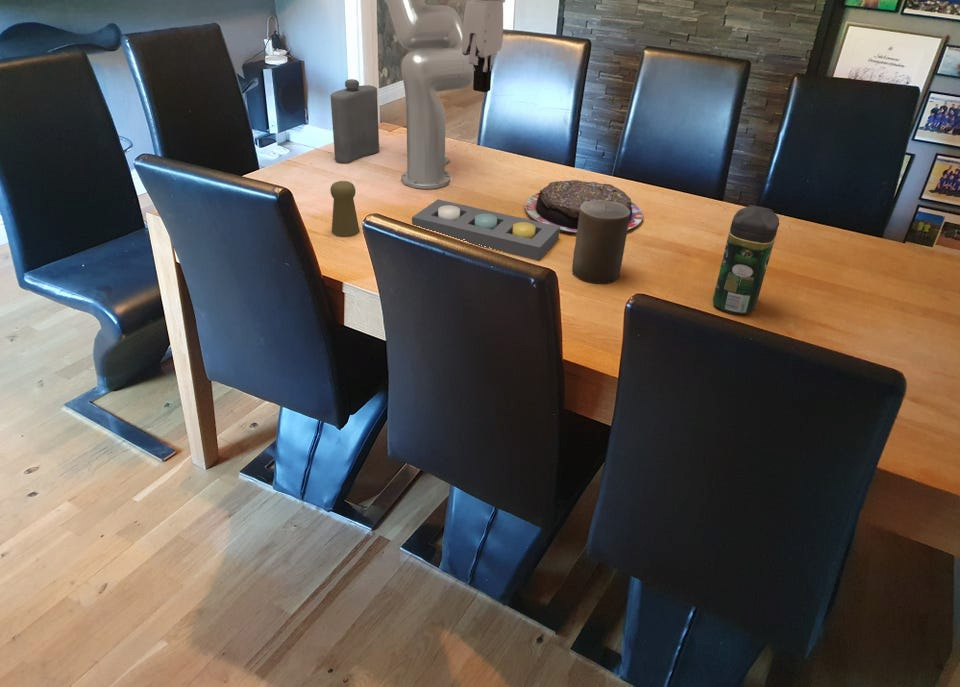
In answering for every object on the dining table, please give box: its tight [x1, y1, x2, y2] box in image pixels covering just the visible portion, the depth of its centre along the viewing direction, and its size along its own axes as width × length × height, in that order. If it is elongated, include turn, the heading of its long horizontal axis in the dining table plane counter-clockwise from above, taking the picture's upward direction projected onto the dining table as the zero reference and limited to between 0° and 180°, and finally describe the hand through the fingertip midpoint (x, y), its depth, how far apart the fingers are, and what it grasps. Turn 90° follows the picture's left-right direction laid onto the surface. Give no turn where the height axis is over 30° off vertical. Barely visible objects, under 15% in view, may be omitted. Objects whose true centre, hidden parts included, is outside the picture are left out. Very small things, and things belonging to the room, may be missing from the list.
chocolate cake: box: [524, 179, 644, 236], centre depth 168 cm, size 28×28×7 cm
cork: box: [329, 180, 361, 238], centre depth 152 cm, size 6×6×11 cm
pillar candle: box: [571, 200, 630, 284], centre depth 140 cm, size 10×10×15 cm
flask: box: [330, 78, 380, 165], centre depth 191 cm, size 15×6×20 cm, turn 144°
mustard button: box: [512, 222, 536, 239], centre depth 152 cm, size 5×5×3 cm
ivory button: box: [438, 205, 460, 221], centre depth 158 cm, size 5×5×3 cm
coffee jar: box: [712, 204, 781, 315], centre depth 130 cm, size 10×8×19 cm
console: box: [411, 198, 561, 261], centre depth 156 cm, size 12×30×3 cm, turn 65°
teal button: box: [475, 214, 497, 230], centre depth 155 cm, size 5×5×3 cm
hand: (481, 90), depth 147 cm, fingers closed
